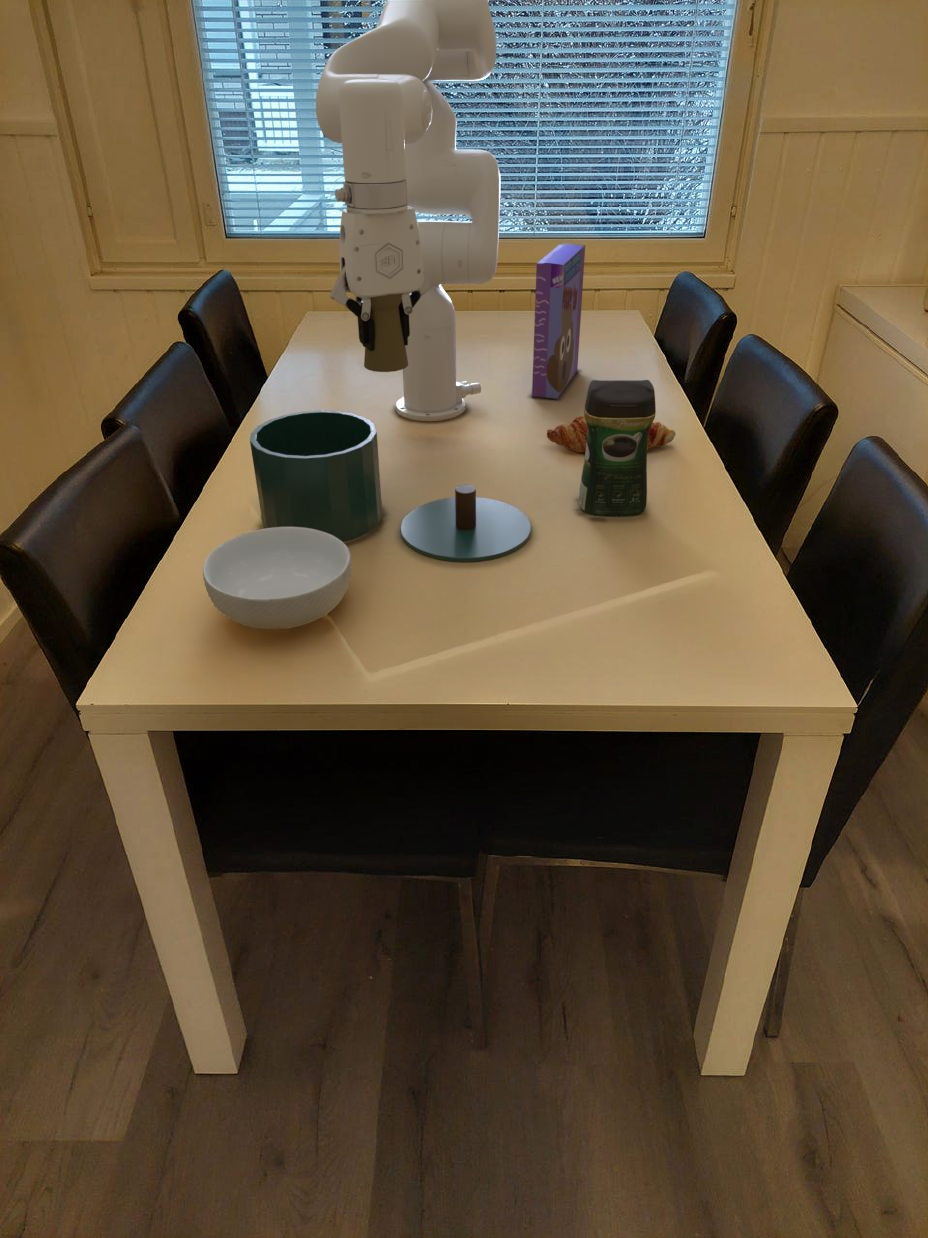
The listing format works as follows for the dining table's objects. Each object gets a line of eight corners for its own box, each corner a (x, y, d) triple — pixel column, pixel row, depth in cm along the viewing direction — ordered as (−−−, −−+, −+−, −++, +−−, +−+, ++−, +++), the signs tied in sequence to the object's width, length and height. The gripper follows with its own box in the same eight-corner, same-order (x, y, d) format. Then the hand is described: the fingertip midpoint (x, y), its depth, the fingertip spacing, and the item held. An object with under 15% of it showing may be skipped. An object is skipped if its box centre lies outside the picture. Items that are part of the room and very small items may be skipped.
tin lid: (491, 494, 131) (492, 452, 127) (555, 546, 117) (558, 500, 114) (380, 520, 124) (377, 477, 120) (435, 578, 111) (434, 531, 107)
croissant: (666, 457, 150) (666, 409, 149) (684, 452, 140) (685, 400, 139) (542, 459, 148) (542, 410, 148) (552, 453, 138) (552, 402, 138)
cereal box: (556, 399, 164) (563, 263, 150) (531, 397, 165) (536, 261, 152) (577, 370, 177) (585, 243, 164) (554, 368, 179) (560, 242, 165)
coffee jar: (641, 495, 130) (655, 371, 120) (648, 520, 123) (663, 391, 113) (575, 495, 130) (583, 371, 120) (579, 520, 124) (588, 391, 113)
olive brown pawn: (402, 373, 117) (398, 286, 111) (358, 370, 118) (352, 285, 112) (413, 359, 122) (409, 276, 116) (370, 357, 123) (365, 274, 117)
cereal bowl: (289, 669, 95) (281, 614, 91) (181, 624, 103) (170, 572, 99) (382, 597, 107) (379, 546, 103) (280, 561, 115) (273, 512, 111)
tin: (356, 485, 134) (349, 402, 126) (400, 531, 121) (395, 442, 114) (249, 509, 127) (235, 423, 120) (284, 559, 115) (271, 467, 108)
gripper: (323, 206, 102) (336, 362, 112) (450, 194, 109) (453, 343, 119) (301, 197, 108) (316, 347, 118) (424, 187, 114) (428, 330, 124)
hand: (385, 344), depth 118 cm, fingers closed on olive brown pawn, 4 cm apart
